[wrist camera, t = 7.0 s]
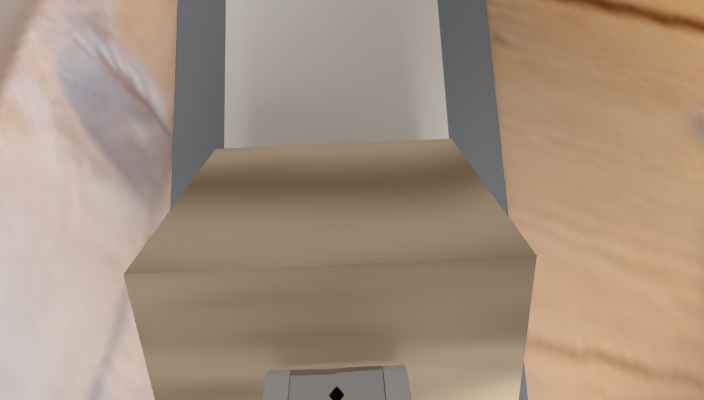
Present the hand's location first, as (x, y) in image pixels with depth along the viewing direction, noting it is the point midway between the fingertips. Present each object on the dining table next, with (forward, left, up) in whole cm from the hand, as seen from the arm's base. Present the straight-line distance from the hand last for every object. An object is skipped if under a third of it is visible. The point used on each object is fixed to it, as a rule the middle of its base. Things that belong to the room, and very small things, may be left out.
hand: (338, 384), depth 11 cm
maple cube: (0, +2, -8) cm, 9 cm away
